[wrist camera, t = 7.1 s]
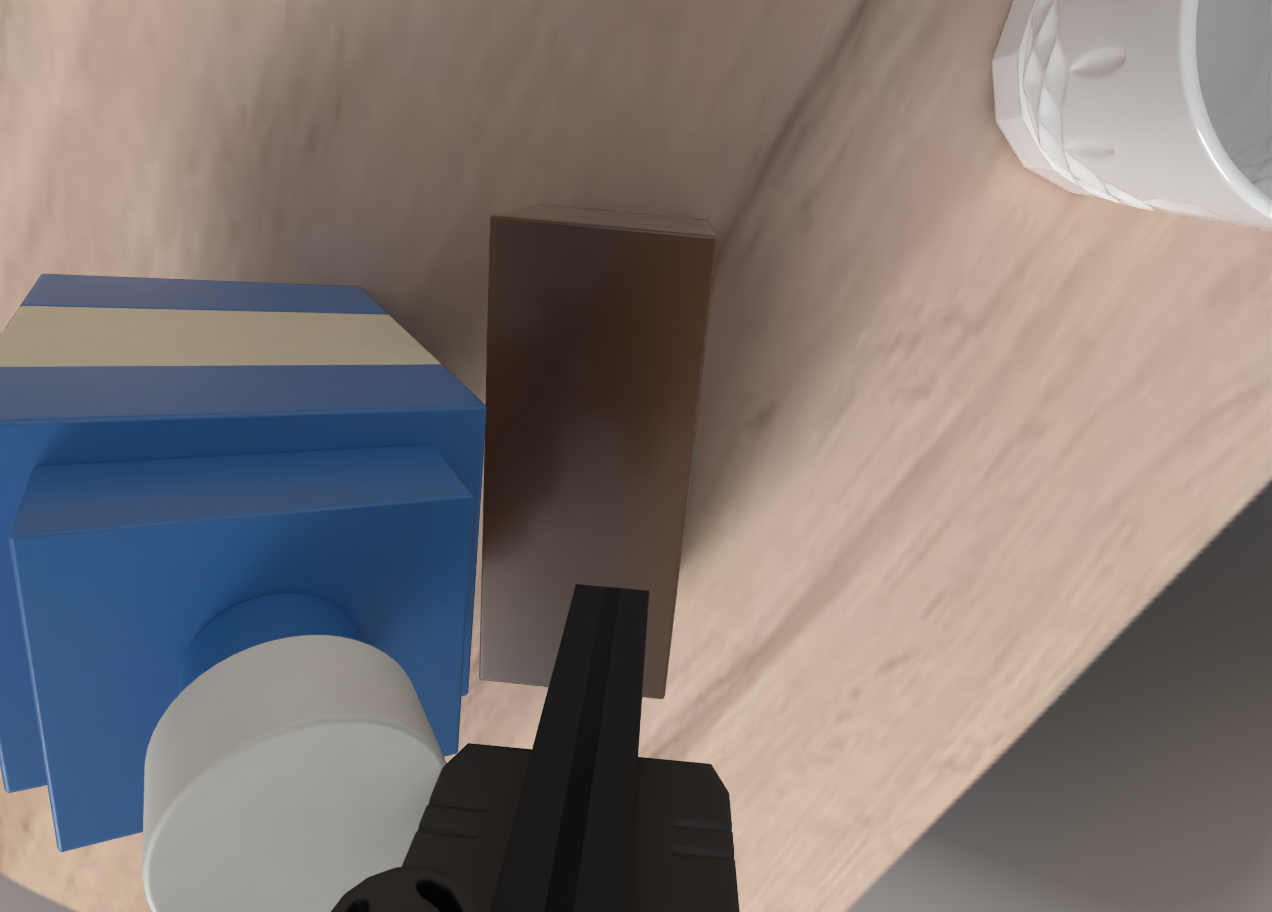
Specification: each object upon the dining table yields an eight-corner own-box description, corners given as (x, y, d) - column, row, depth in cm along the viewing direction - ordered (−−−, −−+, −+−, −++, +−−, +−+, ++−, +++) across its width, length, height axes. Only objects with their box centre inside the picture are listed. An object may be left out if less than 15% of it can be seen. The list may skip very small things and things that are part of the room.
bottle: (670, 337, 23) (370, 682, 7) (641, 540, 26) (364, 1153, 9) (183, 256, 25) (-892, 379, 9) (196, 450, 28) (-651, 819, 12)
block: (709, 220, 23) (718, 236, 17) (668, 582, 27) (664, 700, 21) (539, 204, 23) (489, 214, 17) (523, 568, 27) (478, 680, 21)
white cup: (1015, 262, 23) (1241, 323, 14) (927, -15, 21) (1125, -167, 12) (1301, 137, 22) (1773, 109, 12) (1239, -175, 20) (1754, -497, 10)
